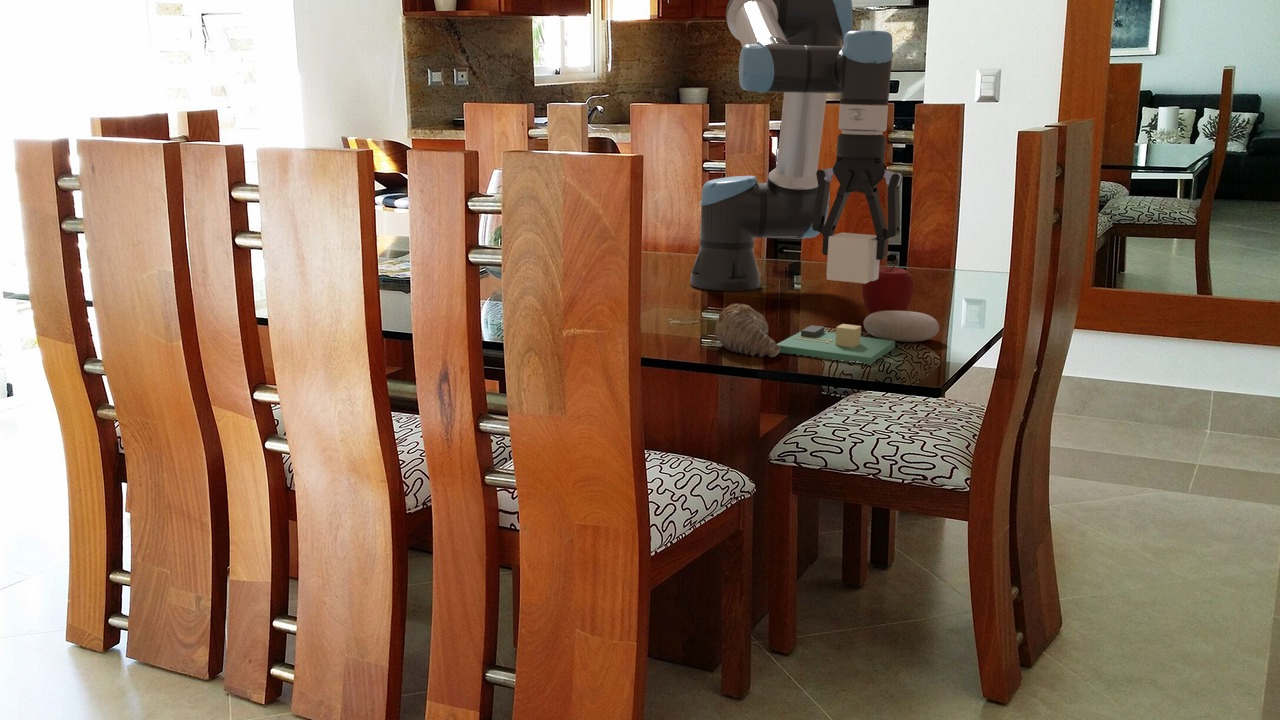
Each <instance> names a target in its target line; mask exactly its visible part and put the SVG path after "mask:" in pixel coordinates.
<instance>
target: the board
mask: <svg viewBox="0 0 1280 720" xmlns="http://www.w3.org/2000/svg"><path fill="white" fill-rule="evenodd" d="M861 333H862V326H861V325H856V324H849V323H848V324H847V323H846V324H845V323H842V324H839V325H837V326H836V330H835V332H827V331H825V326H821V325H813V324H812V325H809V326H807V327H805V328H803V329H801V330H800V331H799V332H797V333H795V334H794V335H791V336H789V337H787V338H786V339H784V340H781V341H780V342H778V343H776V344H777V345H778V346H780V348H781V349H780V352H779V354H786V355H787V354H788V355H793V354H796V355H795V356H800V355H803V356H802V357H807V356H811V357H810V358H815V357H821V358H820V359H822V358H828V359H827V360H829V359H837V360H844V361H859V362H862V363H865V364H868V365H867V366H871V365H872V363H873V364H874V363H875V362H877V361H878V360H879V358H880V357H881V358H883V357H884V356H886V354H888V353H889V352H891V351H892V350H893V349H895V347H896V341H892V340H886V339H882V338H877V337H866V336H862V335H861ZM883 355H884V356H883ZM881 358H880V359H881ZM877 359H878V360H877ZM876 360H877V361H876ZM865 364H864V365H865Z"/></svg>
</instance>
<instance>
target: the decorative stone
mask: <svg viewBox="0 0 1280 720" xmlns="http://www.w3.org/2000/svg"><path fill="white" fill-rule="evenodd" d="M863 326H864V327H863V328H864V329H865V331H866V332H867V333H869V334H870V335H871V336H873V337H874V338H877V339H884V340H892V341H895V342H903V343H915V342H923V341H928V340H930V339H932V338H934V337H935V336H936V335H938V333H939V331H940V324H939V322H938V320H937V319H935V318H934V317H933V316H931V315H930V314H926V313H923V312H918V311H912V310H911V311H910V310H906V311H879V312H875V313H872V314H870V313H869V314H868V315H867V316H866V317H865V318H864V320H863Z"/></svg>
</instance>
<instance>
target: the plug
mask: <svg viewBox="0 0 1280 720" xmlns="http://www.w3.org/2000/svg"><path fill="white" fill-rule="evenodd" d="M876 238H877V236H876V234H868V233H867V234H866V233H865V234H864V233H854V232H853V233H852V232H839V233H836V234H835V233H834V234H833V235H832V236H829V252H828V255H827V257H828V267H827V266H826V273H827V276H826V280H828V281H834V282H835V281H836V282H845V283H846V282H848V283H854V284H863V283H864V284H866V283H868V282H870V281H869V272H870V259H871V245H872V240H874V239H876Z"/></svg>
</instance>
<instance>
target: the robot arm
mask: <svg viewBox="0 0 1280 720" xmlns="http://www.w3.org/2000/svg"><path fill="white" fill-rule="evenodd" d="M725 19H726V23H727V27H728V29H729V32H730V33H731V35H732V36H733V37H734V38H735V39H736V40H738V41H739V42H740V44H741V47H742V48H741V50H740V53H739V60H738V61H739V62H738V80H739V81H738V83H739V86H740V88H741V89H742V90H743V91H747V92H757V93H759V94H763V93H783V99H782V100H783V101H782V112H781V122H780V130H779V131H780V132H779V139H778V151H777V158H776V167H775V168H774V169H772V170H771V171H770V172H769V173H768V175H767V176H768V178H767V182H759V181H758V179H757V177H756V176H754V175H736V176H728V177H720V178H715V179H711V180H707V181H706V182H705V183H704V184H703V186H702V189H701V200H700V202H699V204H700V206H701V209H700V210H701V211H700V226H699V227H700V232H699V249H698V252H697V256H696V258H695V262H694V265H693V266H692V270H691V272H690V279H689V281H690V286H692V287H694V288H698V289H704V290H710V291H719V292H722V291H723V292H725V291H726V292H739V291H740V292H741V291H742V292H743V291H751V290H757V289H759V288H760V287H761V274H760V270H759V266H758V263H757V259H756V255H755V251H754V248H755V247H754V246H755V245H754V244H755V238H756V239H757V238H761V239H762V238H765V239H766V238H768V239H770V238H771V239H795V240H800V239H812V238H813V239H814V238H816V237H817V236H819V234H821V235H822V249H821V251H822V256H827V259H826V268H827V267H828V252H829V236H832V235H835V233H836V231H835V230H836V228H837V225H838V224H839V221H840V218H841V216H842V214H843V211H844V208H845V207H846V206H845V205H846V203H847V200H848V198H849V196H850V195H851V193H855V192H857V193H860V194H864V197H865V199H866V201H867V205H868V209H869V212H870V217H871V220H872V223H873V227H874V232H875V235H876V236H877V238H876V239H874V240H872V245H871V259H870V272H869V281H875V280H877V279H878V276H879V266H880V261H884V260H885V259H886V257H887V249H888V248H887V246H888V240H889V239H890V238H893V237H896V236H899V234H900V232H901V227H900V225H901V222H900V221H901V219H900V217H901V216H900V211H901V210H900V208H901V207H900V205H901V204H900V187H901V184H902V182H903V178H904V175H903V173H901V172H898V173H897V172H893V171H891V170H888V169H887V167H886V164H885V158H886V157H885V154H886V144H887V143H886V141H887V137H886V136H885V134H884V133H883V132H885V131H887V128H888V113H889V111H888V110H889V100H890V99H889V98H890V86H891V74H892V64H893V63H892V62H893V58H894V52H893V36H892V34H891V33H890V32H889V31H885V30H853V24H854V14H853V2H852V0H729V2H728V3H727V7H726V11H725ZM842 42H843V44H842ZM842 45H843V46H842ZM827 94H835V95H837V94H839V95H840V96H839V98H840V100H839V109H838V110H839V111H838V126H837V127H838V130H839V131H841V133H839V134H838V135H837V141H836V142H837V143H836V157H835V158H836V160H835V162H834V164H833V165H832V167H830V168H821V169H818V168H819V162H820V161H819V160H820V151H821V146H822V145H821V143H822V137H823V128H824V119H825V111H826V103H827ZM834 176H835V178H836V179H837V181H838V183H839V187H838V189H837V191H836V196H835V199H834V202H833V203H832V207H830V199H831V198H830V196H831V194H830V189H831V182H832V180H833V179H834V178H833V177H834ZM883 179H885V184H886V186H888V187H887V224H886V220H885V217H884V211H883V207H882V204H881V201H880V192H879V188H878V185H879V183H880V182H881V181H882V180H883ZM830 208H831V209H830ZM829 209H830V212H829ZM825 273H826V275H825V276H826V277H827V272H825Z"/></svg>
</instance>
